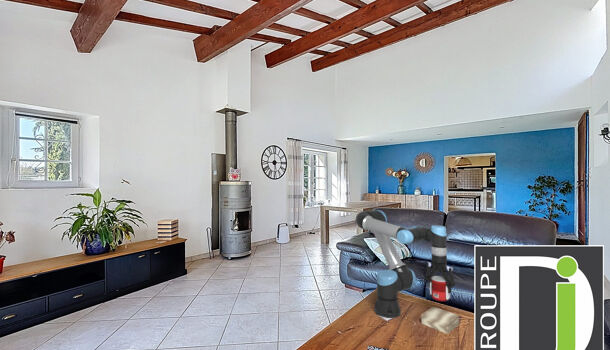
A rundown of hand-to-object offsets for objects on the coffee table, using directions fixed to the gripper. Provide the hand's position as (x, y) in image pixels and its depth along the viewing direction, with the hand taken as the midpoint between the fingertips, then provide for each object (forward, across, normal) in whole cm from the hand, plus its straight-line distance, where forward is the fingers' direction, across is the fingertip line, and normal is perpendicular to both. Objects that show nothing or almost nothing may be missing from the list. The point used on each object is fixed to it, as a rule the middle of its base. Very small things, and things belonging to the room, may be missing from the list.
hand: (439, 296), depth 154 cm
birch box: (+15, 0, 0) cm, 15 cm away
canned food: (+1, 0, 0) cm, 1 cm away
